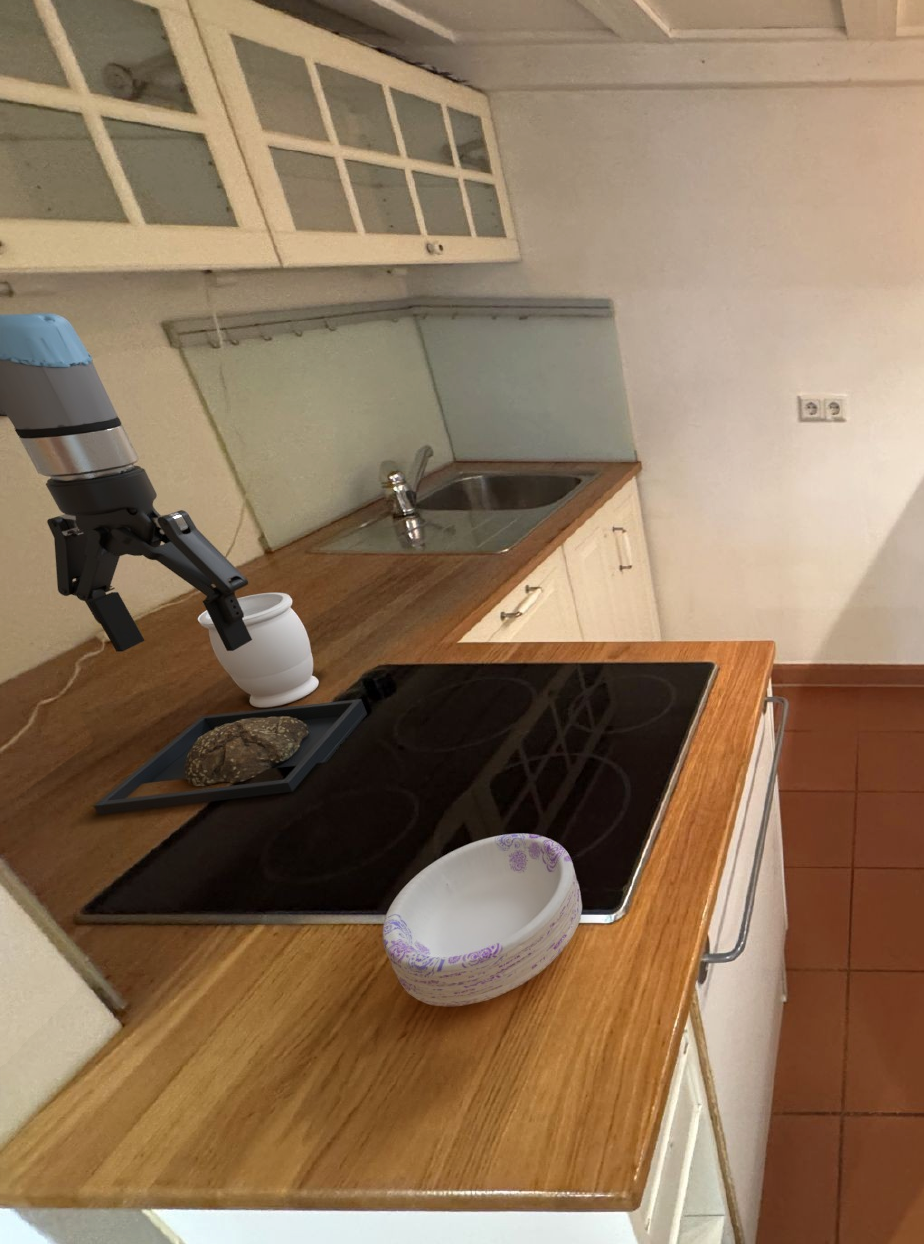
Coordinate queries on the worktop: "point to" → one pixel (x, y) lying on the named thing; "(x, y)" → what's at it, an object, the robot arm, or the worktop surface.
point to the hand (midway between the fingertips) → (185, 646)
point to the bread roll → (243, 749)
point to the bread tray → (324, 738)
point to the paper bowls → (483, 919)
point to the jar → (268, 651)
